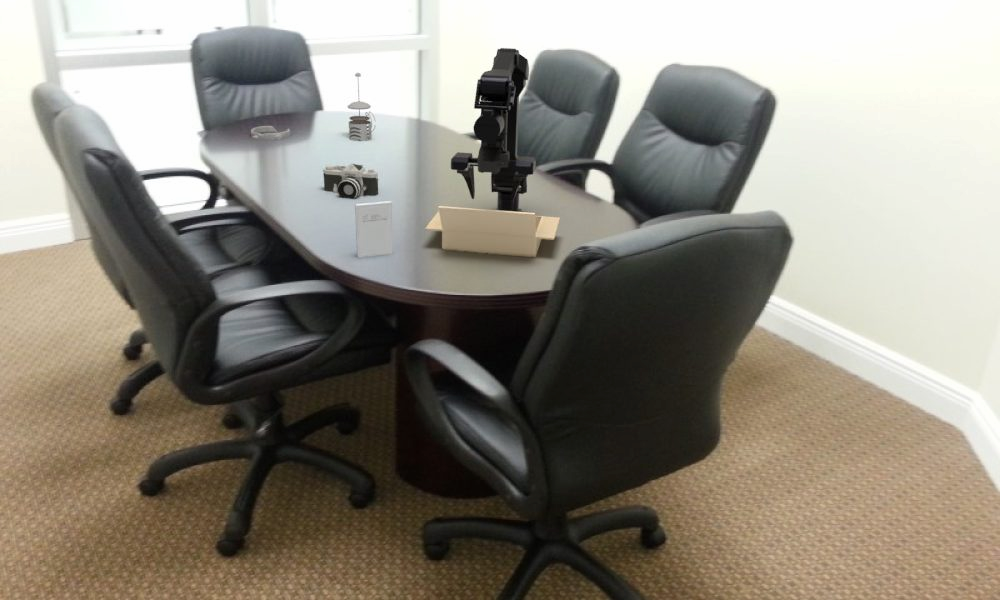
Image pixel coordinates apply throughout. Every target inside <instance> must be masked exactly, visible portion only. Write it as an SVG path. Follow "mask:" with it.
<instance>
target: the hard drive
mask: <svg viewBox="0 0 1000 600" xmlns="http://www.w3.org/2000/svg"><path fill="white" fill-rule="evenodd" d="M354 209H355V210H354V211H355V213H354V214H355V231H356V234H355V235H356V254H357V255H356V256H357V258H367V257H375V256H382V255H392V254H394V236H393V235H394V230H393V228H394V227H393V201H392V200H381V201H372V202H371V201H370V202H359V203H355V204H354Z"/></svg>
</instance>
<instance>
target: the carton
mask: <svg viewBox="0 0 1000 600" xmlns="http://www.w3.org/2000/svg"><path fill="white" fill-rule="evenodd" d="M560 220H561V217H559V216H558V217H555V216H543V215H535V228H536V237H530V236H517V235H503V234H490V233H477V232H464V231H451V230H443V229H442V224H441V219H440V213H439V210H438V211H437V212H436V213H435V214H434V216H433V218H432V219H431V220H430V222H429V223H428V224H427V226H426V227H425V231H434V232H441V249H442V250H443V249H444V251H453V250H457V251H456V252H464V251H467V252H466V253H474V252H477V253H478V254H485V253H488V254H487V255H501V256H514V257H524V258H537V255H538V251H539V248H540V245H541V242H542V240H548V241H550V240H552V241H554V240H555V238H556V234H557V231H558V228H559V223H560Z"/></svg>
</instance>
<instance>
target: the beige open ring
mask: <svg viewBox="0 0 1000 600" xmlns="http://www.w3.org/2000/svg"><path fill="white" fill-rule="evenodd" d="M265 132H266V133H265ZM267 132H269V133H267ZM273 132H274V133H273ZM291 136H292V135H291V130H290V128H287V129H286V130H285V131H281V132H278V131H277V129H276V128H274V126H272V125H261V126H256V127H252V128H251V130H250V137H251V139H252V140H270V141H271V140H273V141H274V140H275V141H282V140H284V139H288V138H289V137H291Z"/></svg>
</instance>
